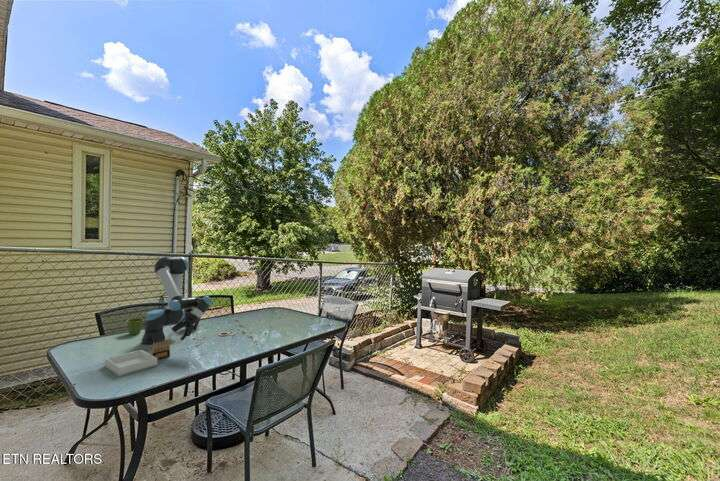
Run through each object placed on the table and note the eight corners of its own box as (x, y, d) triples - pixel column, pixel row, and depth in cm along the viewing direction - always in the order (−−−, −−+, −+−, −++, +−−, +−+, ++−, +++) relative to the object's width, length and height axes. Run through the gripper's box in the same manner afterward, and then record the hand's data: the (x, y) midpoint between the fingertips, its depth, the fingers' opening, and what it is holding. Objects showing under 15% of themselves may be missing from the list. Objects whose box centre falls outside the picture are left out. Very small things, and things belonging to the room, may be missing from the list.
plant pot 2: (178, 329, 272) (179, 311, 272) (190, 325, 287) (191, 307, 287) (193, 331, 270) (194, 312, 270) (205, 326, 285) (206, 309, 285)
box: (104, 366, 192) (104, 358, 192) (141, 357, 209) (141, 349, 209) (119, 376, 180) (119, 367, 180) (156, 366, 197) (157, 358, 197)
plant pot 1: (136, 336, 250) (137, 322, 250) (121, 335, 250) (122, 321, 250) (147, 332, 261) (147, 318, 261) (132, 331, 262) (133, 317, 262)
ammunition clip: (152, 361, 204) (153, 342, 204) (150, 360, 205) (152, 342, 205) (169, 356, 213) (170, 339, 213) (168, 356, 214) (169, 338, 214)
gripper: (207, 321, 221) (185, 348, 208) (188, 315, 234) (166, 340, 222) (200, 315, 216) (177, 342, 204) (181, 309, 230) (158, 334, 217)
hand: (171, 341), depth 213 cm, fingers open, 13 cm apart
